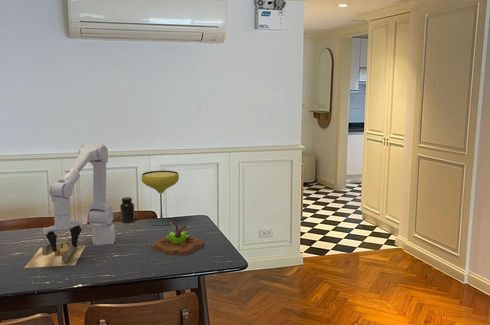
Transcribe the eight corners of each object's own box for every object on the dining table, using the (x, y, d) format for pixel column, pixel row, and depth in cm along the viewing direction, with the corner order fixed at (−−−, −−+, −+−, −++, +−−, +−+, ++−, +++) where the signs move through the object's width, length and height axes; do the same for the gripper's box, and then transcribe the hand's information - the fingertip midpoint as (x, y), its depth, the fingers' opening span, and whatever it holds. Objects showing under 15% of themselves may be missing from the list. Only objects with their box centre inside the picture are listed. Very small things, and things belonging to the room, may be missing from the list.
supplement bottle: (129, 218, 244) (128, 196, 242) (137, 220, 240) (136, 197, 238) (118, 221, 239) (117, 198, 237) (126, 223, 235) (125, 200, 233)
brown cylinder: (66, 252, 191) (66, 245, 191) (64, 255, 188) (63, 248, 187) (56, 252, 191) (55, 245, 190) (53, 256, 187) (53, 248, 186)
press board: (85, 247, 200) (85, 245, 199) (74, 267, 178) (74, 265, 177) (40, 249, 197) (40, 247, 197) (24, 270, 175) (24, 267, 175)
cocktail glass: (144, 229, 226) (143, 177, 222) (141, 219, 243) (140, 171, 239) (182, 226, 231) (181, 176, 227) (177, 216, 248) (175, 169, 244)
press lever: (70, 245, 197) (69, 229, 196) (79, 244, 197) (78, 228, 196) (59, 261, 178) (58, 244, 177) (69, 261, 178) (68, 243, 177)
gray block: (56, 250, 193) (56, 241, 192) (46, 255, 187) (46, 245, 187) (52, 250, 194) (52, 240, 193) (42, 255, 188) (41, 245, 187)
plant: (174, 237, 215) (173, 213, 213) (209, 244, 205) (209, 219, 203) (144, 250, 198) (143, 224, 196) (181, 259, 188) (180, 232, 186)
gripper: (75, 208, 185) (77, 241, 187) (38, 215, 174) (40, 250, 177) (84, 211, 180) (86, 245, 182) (46, 219, 170) (48, 255, 172)
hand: (64, 248), depth 179 cm, fingers open, 7 cm apart
